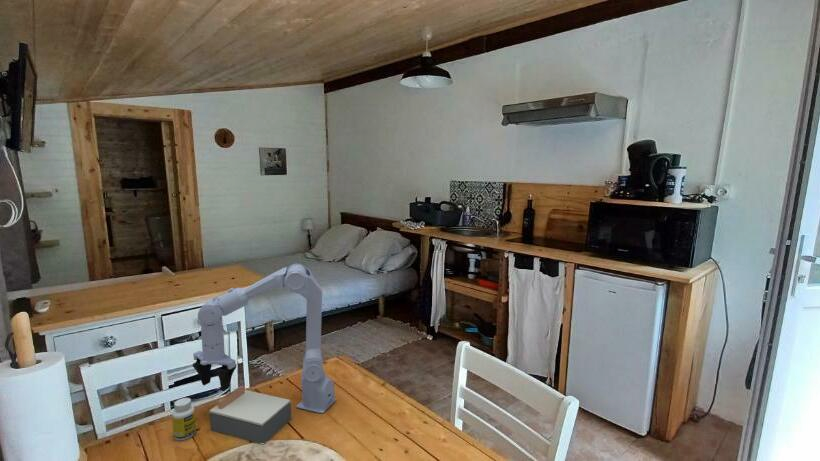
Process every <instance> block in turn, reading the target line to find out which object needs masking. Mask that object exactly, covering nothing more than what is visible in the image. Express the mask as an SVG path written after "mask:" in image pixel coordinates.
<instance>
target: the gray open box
mask: <svg viewBox="0 0 820 461" xmlns="http://www.w3.org/2000/svg"><path fill="white" fill-rule="evenodd" d="M291 404H292V403H291V402H290V403H289V404H288V405H286V406H285V407H284V408H283V409H282V410H280V411H279V412H278V413H277V414H276V415H275V416H273V417H272V418H271V419H270V420H269V421H268V422H266V423H265V424H264V425H263V426H260V425H256V424H252V423H248V422H245V421H241V420H237V419H233V418H229V417H225V416H221V415H217V414H214V413H210V412H209V422H210V430H211V431H213V432H217V433H219V434H220V433H221V434H224V435H229V436H231V437H235V438H238V439H242V440H246V441H248V442H254V443H256V444H260V443H264V442H266V443H267V442H268V441H269V440H271V438H272V437H273V436H275V434H276V433H277V432H278V431H281V429H282V428H283V427H285V425H287V423H288V422H290V421H291V420H292V407H291V406H292V405H291ZM264 444H265V443H264Z"/></svg>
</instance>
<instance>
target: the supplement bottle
mask: <svg viewBox="0 0 820 461" xmlns="http://www.w3.org/2000/svg"><path fill="white" fill-rule="evenodd" d="M173 406H174V408H173V409H174V410H173V411H172V413H171V419H172V431H173V433H172V434H173V439H174V440H175V441H187V440H188V439H191V438H192V437H193V436H194V435H195V434H196V432H197V428H196V427H197V425H196V413H195V412H196V411H195V407H194V406H193V405H192V399H191V398H190V397H182V398H178V400H176V401H174V403H173Z"/></svg>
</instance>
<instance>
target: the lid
mask: <svg viewBox="0 0 820 461" xmlns="http://www.w3.org/2000/svg"><path fill="white" fill-rule="evenodd" d="M289 403H291V399H288V398H283V397H278V396H274V395H268V394H266V393H261V392H256V391H252V390H246V389H245V385H240V386H239V387H237V388H236V389H235V388H234V390H232V391H231V392H229V393H227V395H225V396H224V397H222V398H220V399H219V400H217V405H215V406H214V407H212V408H211V409H209V414H210V413H214V414H217V415H221V416H225V417H229V418H233V419H237V420H241V421H245V422H248V423H252V424H256V425H260V426H263V425H264V424H265V423H266V422H268V421H269V420H270V419H271V418H272V417H273V416H275V415H276V414H277V413H278V412H279V411H280V410H282V409H283V408H284V407H285V406H286V405H288V404H289Z"/></svg>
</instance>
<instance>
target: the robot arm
mask: <svg viewBox="0 0 820 461" xmlns="http://www.w3.org/2000/svg"><path fill="white" fill-rule="evenodd" d="M285 288H286V289H287V290H289V291H291V292H293V293H296V294H299V295H300V296H302V298H304V299H306V317H305V319H306V320H305V321H306V326H305V328H306V329H305V336H306V337H305V353H304V354H303V355H304V356H303V357H302V370H301V376H300V377H301V379H300V380H301V381H300V382H301V399H302V400H301V401H300V402H299V403H298V404H297V405H296V409H301V410H305V411H309V412H314V413H318V414H324V413H325V412H326V411H327V410H328V409H329V408H330V407H331V406H332V405H333V404H334V403H335V402H336V401H337V398H335V382H334V380H333V379H331V378H329V377H328V376H327V375H326V371H325V369H324V357H323V354H322V351H321V350H322V349H321V348H322V315H323V314H322V313H323V312H322V310H323V309H322V306H323V292H322V288H321V286H320V283H318V281H317V280H316V278H315V277H314V276H313V274H312V271H311V270H310V269H309V268H307V267H306V266H305V265H303V264H301V263H293V264H291V265H290V266H285V267H283V268H281V269H279V270H276V271H275V272H273V273H271V274H269V275H267V276H266V277H264V278H262V279H260V280H258V281H256V282H255V283H252V284H251V285H249V286H247V287H245V288H242V287H235V288H234V287H231V288H228V290H227V292H226V293H224V294H221V295H220V296H218V297H217V296H214V297H212V298H211V299H209V300H207V301H206V302H205V303H204V304H203V305H202V306H200V308H199V309H198V312H197V319H198V320H199V322H200V334H201V348H202V351H200V350H198V351H196V352H193V360H194V361H196V362H193V363H192V367H193V368H194V370H195V371H196V372H197V374H198V376H199V379H200V382H201V384H202V386H206V385H208V384H210V383H211V380H212V379H211V378H212V376H211V375H212V373H211V372H212V365H218V366H220V367H219V368H217V369H216V370H215V373H216V374H217V376H218V378H219V385H220V389H221V391H222V392H225V391H227V390H228V389H230V385H231V380H232V377H233V374H234V372H235V370H236V368H237V366H238V365H237V363H236V359H234V358H232V357H230V356H228V354H226V352H225V351H226V350H225V335H224V324H223V323H224V322H223V317H225V316H226V317H227V316H228V315H230V314H232V313H234V312H235V311H238V310H240V309H242V308H244V307H245V306H247V305H248V303H249V300H250V299H253V298H254V297H257V296H258V295H261V294H263V293H265V292H267V291H270V290H272V289H278V290H285Z"/></svg>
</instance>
